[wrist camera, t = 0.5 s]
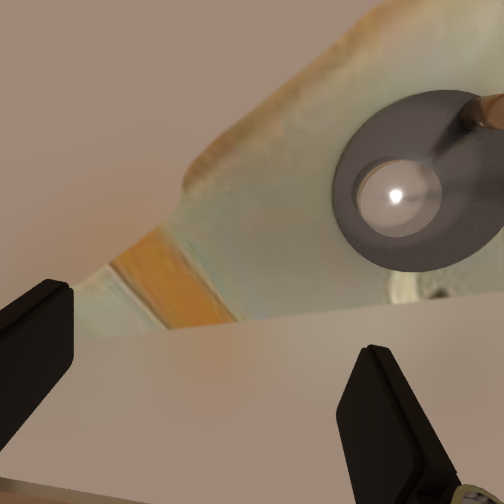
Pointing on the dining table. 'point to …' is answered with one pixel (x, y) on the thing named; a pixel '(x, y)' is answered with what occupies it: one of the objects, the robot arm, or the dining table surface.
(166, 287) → the dining table surface
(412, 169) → the cover
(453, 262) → the turntable
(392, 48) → the dining table surface
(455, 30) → the dining table surface
